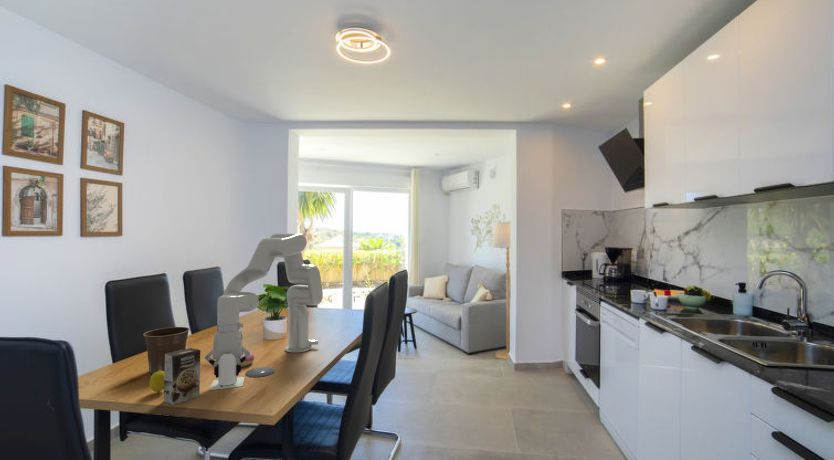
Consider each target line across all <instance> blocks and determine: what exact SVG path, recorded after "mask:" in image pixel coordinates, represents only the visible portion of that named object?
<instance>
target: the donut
mask: <svg viewBox="0 0 834 460" xmlns="http://www.w3.org/2000/svg"><path fill="white" fill-rule="evenodd" d="M249 352H250V355H249V356H248V357H247V358H246V359H245V360H244V361H243V362H242V363H241V368H243V367H246V366H249V365H251V364H252V363H253V361H254V359H255V356H254V353H252V352H251V351H249ZM244 355H245V353H244V352H243V353H242V356H241V357H240V358H242V357H243V356H244Z"/></svg>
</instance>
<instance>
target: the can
mask: <svg viewBox="0 0 834 460" xmlns="http://www.w3.org/2000/svg"><path fill="white" fill-rule="evenodd" d="M218 365H219V367H218V379H217V380H218V384H219V385H221V386H228V385H232V384H235V383H236V382H237V378H238V376H237V375H236V365H237V361H236V358H235V356H234V355H233V354H232V353H223V355H222V356H221V357H220V359H219V362H218Z"/></svg>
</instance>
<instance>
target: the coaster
mask: <svg viewBox="0 0 834 460" xmlns="http://www.w3.org/2000/svg"><path fill="white" fill-rule="evenodd" d="M275 371H276V370H275V368H273V367H271V366H261V367H260V366H259V367H255V368H251V369H248V370H247V371H246V372H245V375H246V376H247V377H248V376H249V377H248V378H262V376H264V377H267V375H268V376H270V375H273V374H274V373H275ZM246 376H245V377H246Z"/></svg>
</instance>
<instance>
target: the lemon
mask: <svg viewBox="0 0 834 460" xmlns="http://www.w3.org/2000/svg"><path fill="white" fill-rule="evenodd" d="M149 388H150V389H151V391H153V392H155V393H157V394H160V393H161V392H162V391H164V371H161V370H158V371H157V372H155V373H154V374H151V376H150V379H149Z"/></svg>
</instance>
